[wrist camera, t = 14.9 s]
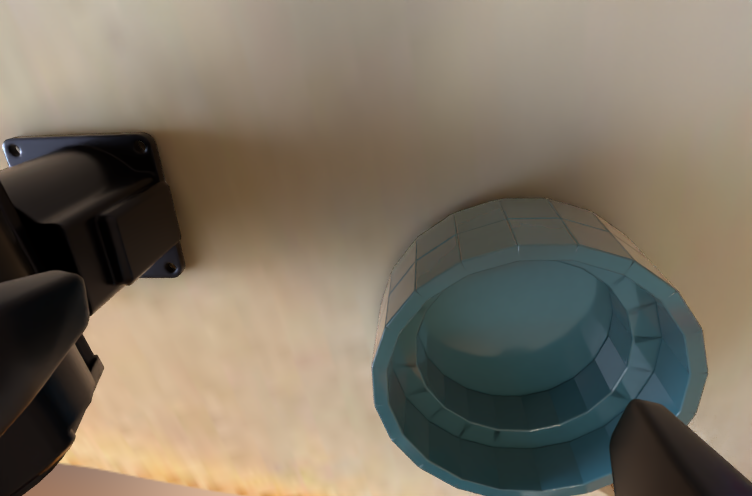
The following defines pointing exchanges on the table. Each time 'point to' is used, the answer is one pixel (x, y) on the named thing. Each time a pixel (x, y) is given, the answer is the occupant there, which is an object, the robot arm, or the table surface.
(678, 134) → the table surface
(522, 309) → the bowl
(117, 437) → the table surface
